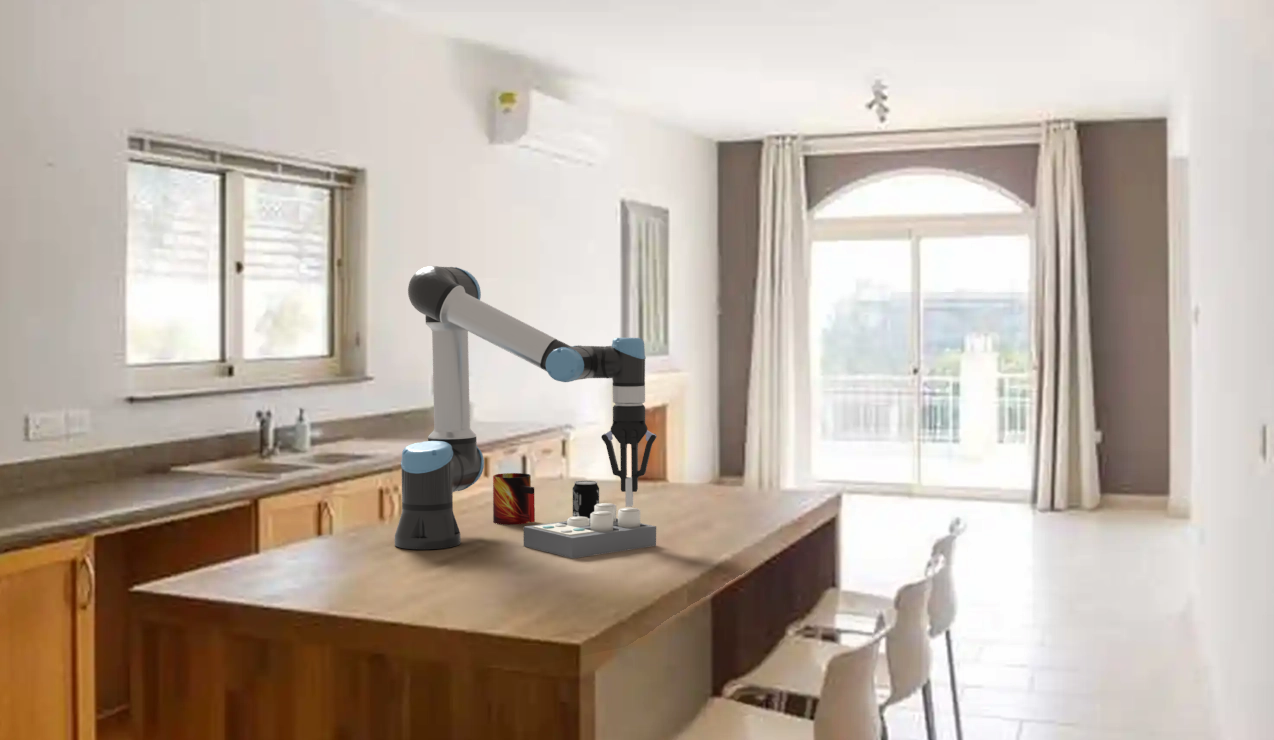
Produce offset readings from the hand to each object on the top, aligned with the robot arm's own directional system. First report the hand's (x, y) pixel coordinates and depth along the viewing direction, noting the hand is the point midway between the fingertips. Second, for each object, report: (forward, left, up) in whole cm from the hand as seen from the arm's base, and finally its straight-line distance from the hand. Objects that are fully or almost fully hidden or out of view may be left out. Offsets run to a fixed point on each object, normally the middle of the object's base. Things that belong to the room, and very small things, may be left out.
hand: (629, 505), depth 295 cm
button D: (0, 0, -6) cm, 6 cm away
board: (-8, +5, -9) cm, 13 cm away
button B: (0, +9, -6) cm, 11 cm away
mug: (-2, +43, -9) cm, 44 cm away
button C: (-8, 0, -6) cm, 10 cm away
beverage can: (+4, +22, -9) cm, 24 cm away
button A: (-8, +9, -9) cm, 15 cm away
